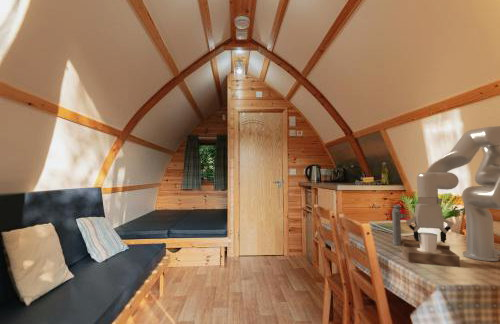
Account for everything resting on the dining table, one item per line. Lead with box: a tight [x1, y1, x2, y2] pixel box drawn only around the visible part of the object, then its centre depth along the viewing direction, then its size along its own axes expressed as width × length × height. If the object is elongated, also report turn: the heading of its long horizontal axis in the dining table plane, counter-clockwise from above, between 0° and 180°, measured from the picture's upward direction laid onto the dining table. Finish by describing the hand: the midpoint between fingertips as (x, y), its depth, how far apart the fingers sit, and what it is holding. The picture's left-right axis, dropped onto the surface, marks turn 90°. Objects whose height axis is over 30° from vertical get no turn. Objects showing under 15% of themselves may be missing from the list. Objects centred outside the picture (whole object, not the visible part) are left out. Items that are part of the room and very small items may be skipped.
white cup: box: [418, 232, 438, 252], centre depth 119 cm, size 7×7×7 cm
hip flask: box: [391, 205, 402, 246], centre depth 152 cm, size 16×4×20 cm, turn 152°
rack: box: [402, 241, 461, 268], centre depth 118 cm, size 18×12×6 cm, turn 71°
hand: (429, 241), depth 119 cm, fingers open, 9 cm apart
